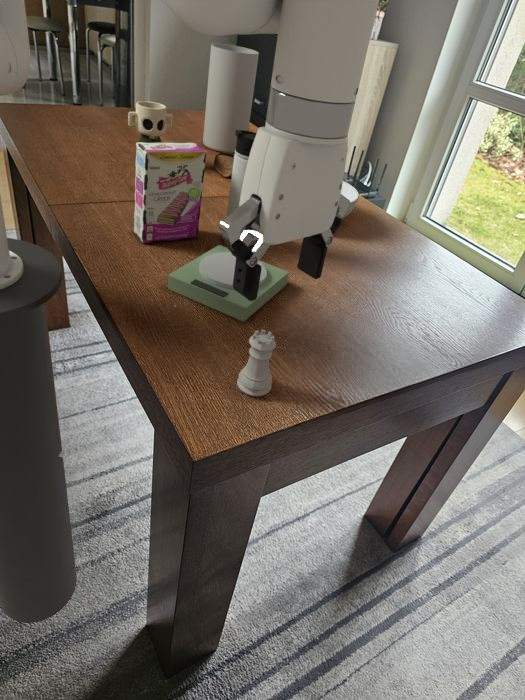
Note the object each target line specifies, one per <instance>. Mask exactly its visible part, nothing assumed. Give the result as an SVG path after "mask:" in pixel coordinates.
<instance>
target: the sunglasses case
mask: <svg viewBox="0 0 525 700" xmlns="http://www.w3.org/2000/svg"><path fill="white" fill-rule="evenodd" d="M234 154H235V153H223V152H219V153H217V154H216V155H215V157H214V160H213V167H214V169H215V170H216V172H217V173H219V174H220V175H221V176H223V178H224V177H225V178H232V170H233V162H234Z"/></svg>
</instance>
